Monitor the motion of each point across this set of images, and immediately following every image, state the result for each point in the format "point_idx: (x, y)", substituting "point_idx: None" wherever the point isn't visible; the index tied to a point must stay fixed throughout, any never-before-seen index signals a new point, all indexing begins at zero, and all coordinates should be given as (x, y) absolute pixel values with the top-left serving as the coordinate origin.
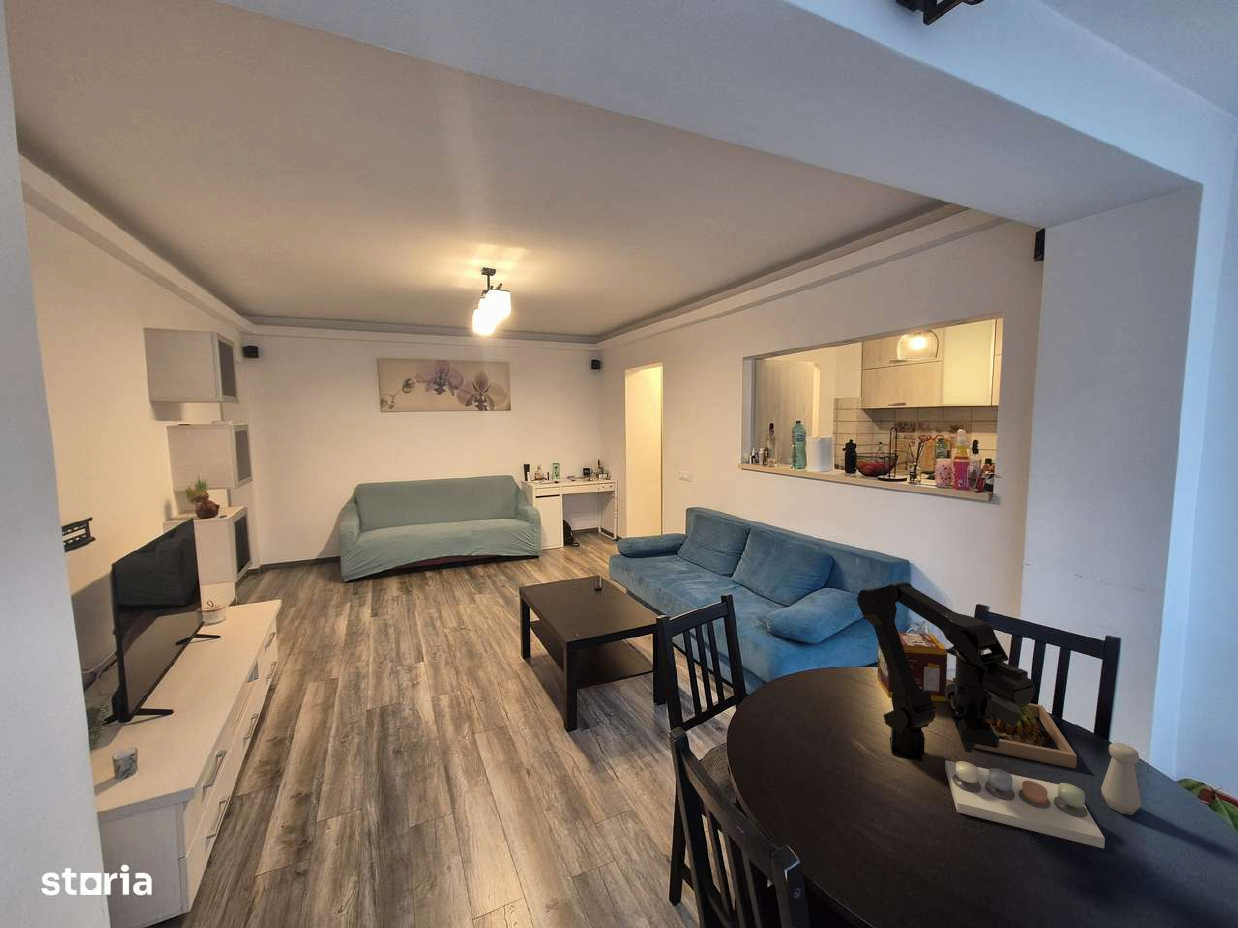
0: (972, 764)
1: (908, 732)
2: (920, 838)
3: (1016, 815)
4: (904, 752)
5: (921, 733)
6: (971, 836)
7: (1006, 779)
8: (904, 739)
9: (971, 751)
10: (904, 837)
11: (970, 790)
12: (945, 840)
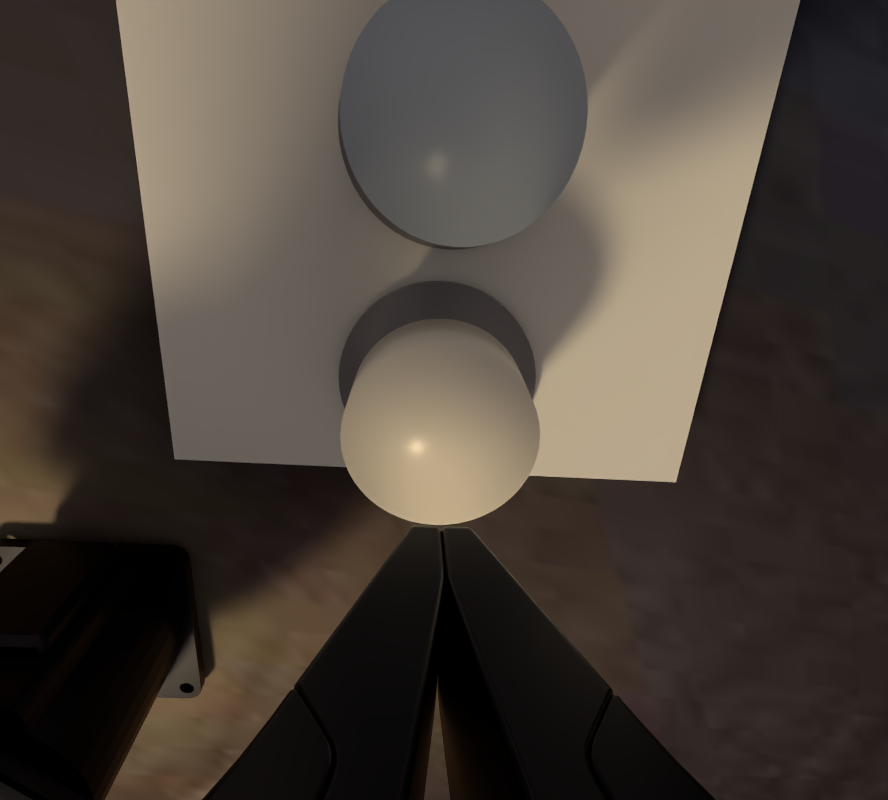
0: (364, 378)
1: (93, 790)
2: (873, 641)
3: (755, 92)
4: (176, 648)
5: (31, 702)
6: (845, 421)
7: (546, 74)
8: (133, 739)
9: (475, 538)
10: (870, 694)
11: (536, 378)
12: (881, 547)
